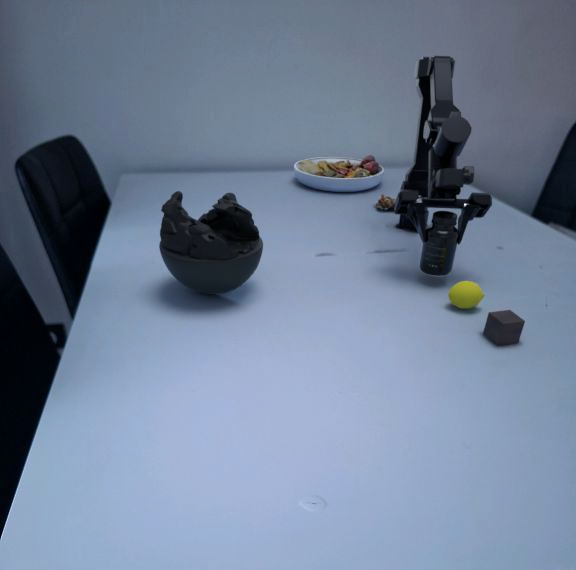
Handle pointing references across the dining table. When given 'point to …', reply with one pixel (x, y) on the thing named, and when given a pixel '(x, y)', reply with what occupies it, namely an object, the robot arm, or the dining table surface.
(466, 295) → the lemon
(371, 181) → the bowl
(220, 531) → the dining table surface
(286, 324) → the dining table surface
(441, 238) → the supplement bottle
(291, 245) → the dining table surface
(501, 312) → the walnut block
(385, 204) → the brown mottled lump
